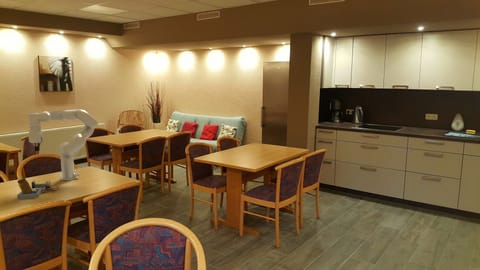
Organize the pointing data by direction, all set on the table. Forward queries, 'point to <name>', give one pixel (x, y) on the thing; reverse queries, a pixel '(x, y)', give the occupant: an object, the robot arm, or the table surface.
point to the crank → (41, 185)
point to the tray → (33, 195)
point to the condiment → (25, 186)
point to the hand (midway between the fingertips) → (37, 150)
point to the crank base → (49, 189)
